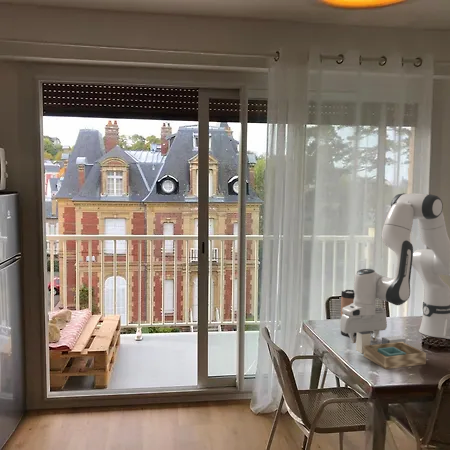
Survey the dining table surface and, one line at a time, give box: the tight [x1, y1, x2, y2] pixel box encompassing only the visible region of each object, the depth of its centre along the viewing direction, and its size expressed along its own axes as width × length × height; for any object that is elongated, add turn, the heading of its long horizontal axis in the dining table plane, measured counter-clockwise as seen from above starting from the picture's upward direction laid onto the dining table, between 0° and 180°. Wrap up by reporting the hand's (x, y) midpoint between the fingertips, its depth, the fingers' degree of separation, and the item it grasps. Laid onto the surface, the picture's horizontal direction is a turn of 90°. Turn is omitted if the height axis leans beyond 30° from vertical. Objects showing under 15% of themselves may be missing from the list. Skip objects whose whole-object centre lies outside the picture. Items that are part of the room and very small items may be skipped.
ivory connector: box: [355, 331, 372, 354], centre depth 192 cm, size 4×4×9 cm
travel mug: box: [340, 289, 357, 337], centre depth 215 cm, size 8×8×20 cm
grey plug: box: [381, 335, 407, 344], centre depth 198 cm, size 9×4×4 cm, turn 107°
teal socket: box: [378, 347, 406, 357], centre depth 181 cm, size 7×7×4 cm
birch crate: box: [363, 342, 427, 370], centre depth 182 cm, size 18×14×4 cm
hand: (363, 341), depth 192 cm, fingers open, 8 cm apart
